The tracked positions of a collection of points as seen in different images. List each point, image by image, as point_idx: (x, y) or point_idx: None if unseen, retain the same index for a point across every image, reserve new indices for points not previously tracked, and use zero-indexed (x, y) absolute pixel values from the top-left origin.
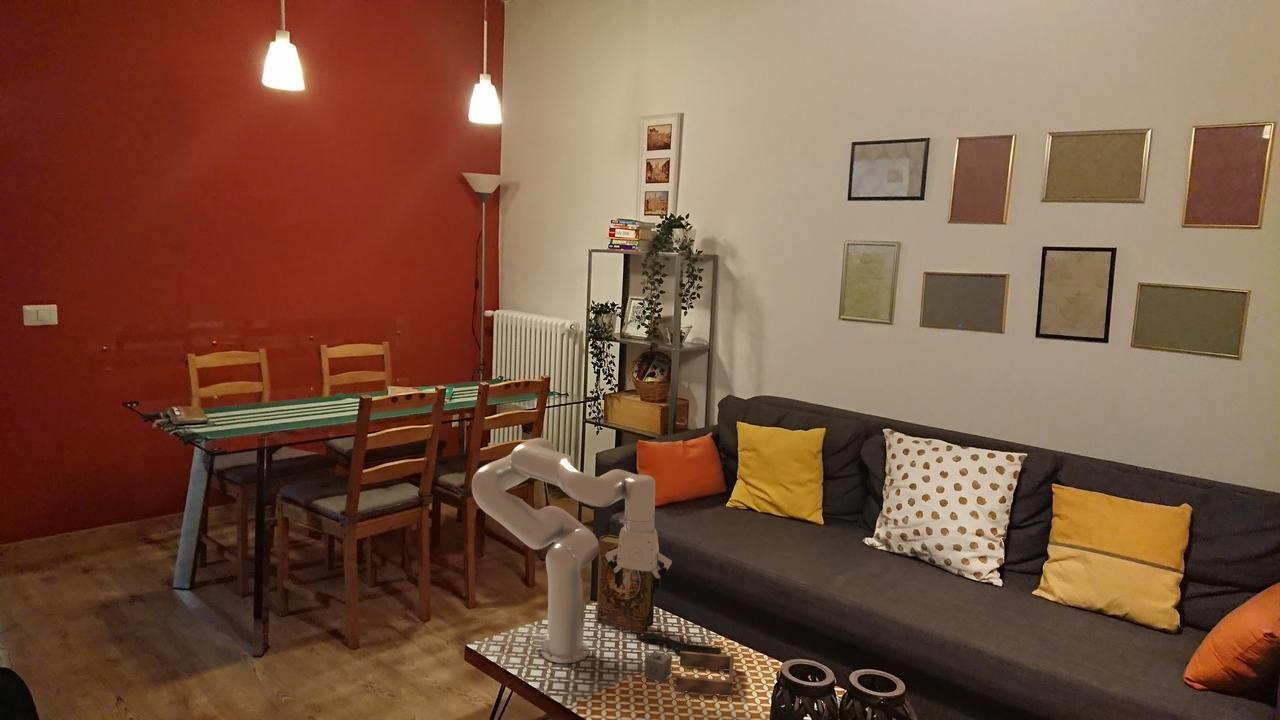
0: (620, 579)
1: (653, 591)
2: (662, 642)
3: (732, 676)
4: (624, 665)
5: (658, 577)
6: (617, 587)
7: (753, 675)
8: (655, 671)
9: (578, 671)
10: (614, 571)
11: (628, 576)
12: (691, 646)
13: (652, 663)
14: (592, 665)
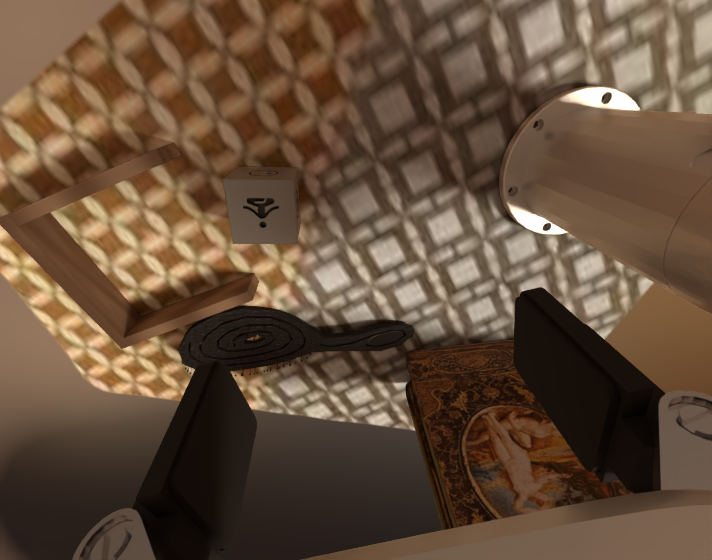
0: (552, 364)
1: (215, 370)
2: (342, 333)
3: (31, 254)
4: (380, 195)
5: (114, 527)
6: (532, 290)
7: (79, 325)
8: (255, 172)
9: (490, 81)
10: (702, 403)
11: (519, 479)
12: (279, 355)
13: (264, 178)
14: (464, 143)
